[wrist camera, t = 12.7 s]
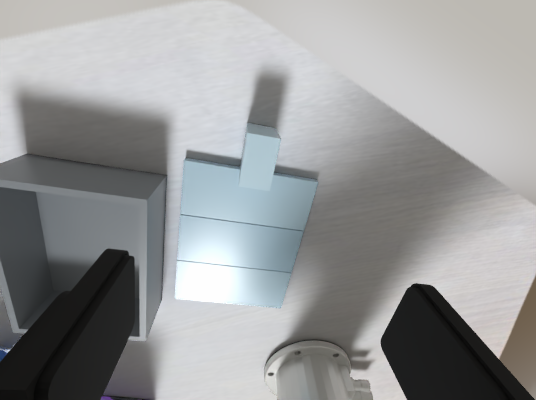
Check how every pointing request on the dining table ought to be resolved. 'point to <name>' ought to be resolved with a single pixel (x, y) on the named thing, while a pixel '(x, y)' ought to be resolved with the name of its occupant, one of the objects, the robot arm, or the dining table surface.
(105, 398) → the candy box
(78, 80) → the dining table surface
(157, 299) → the tub
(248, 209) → the segmented blue block
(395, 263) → the dining table surface
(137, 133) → the dining table surface
